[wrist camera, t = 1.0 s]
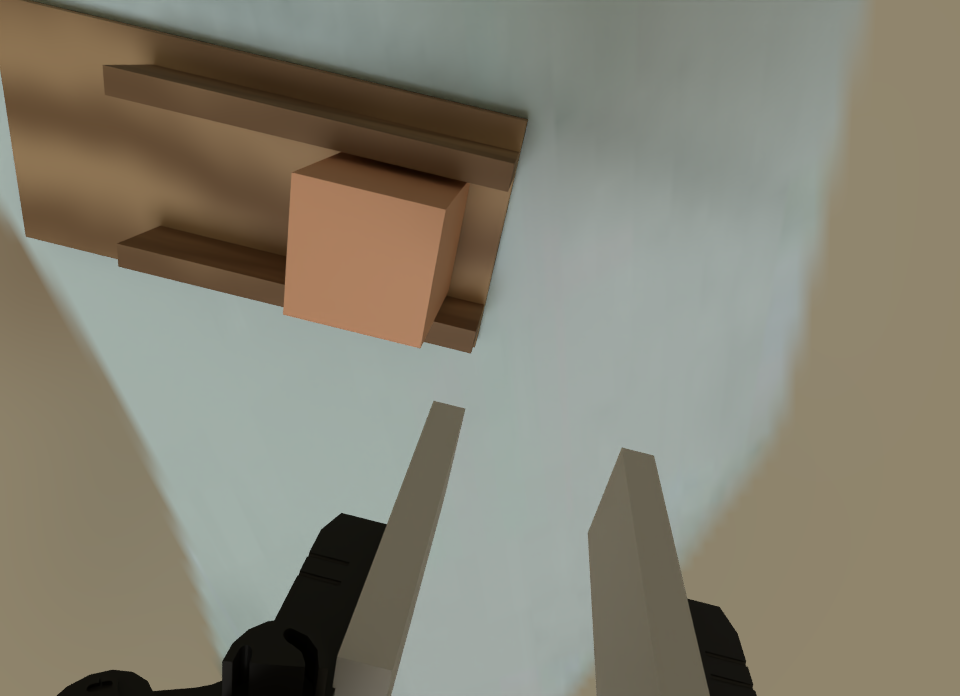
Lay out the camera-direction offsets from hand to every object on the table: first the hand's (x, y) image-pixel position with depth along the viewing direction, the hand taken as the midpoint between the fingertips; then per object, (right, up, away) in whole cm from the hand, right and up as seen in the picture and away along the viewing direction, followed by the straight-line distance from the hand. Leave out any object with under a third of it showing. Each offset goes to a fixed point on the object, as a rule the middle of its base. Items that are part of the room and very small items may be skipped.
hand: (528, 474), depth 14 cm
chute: (-13, +12, +17) cm, 24 cm away
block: (-5, +9, +16) cm, 19 cm away
